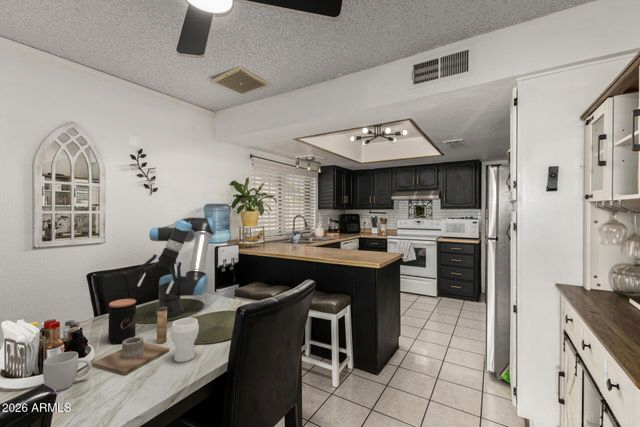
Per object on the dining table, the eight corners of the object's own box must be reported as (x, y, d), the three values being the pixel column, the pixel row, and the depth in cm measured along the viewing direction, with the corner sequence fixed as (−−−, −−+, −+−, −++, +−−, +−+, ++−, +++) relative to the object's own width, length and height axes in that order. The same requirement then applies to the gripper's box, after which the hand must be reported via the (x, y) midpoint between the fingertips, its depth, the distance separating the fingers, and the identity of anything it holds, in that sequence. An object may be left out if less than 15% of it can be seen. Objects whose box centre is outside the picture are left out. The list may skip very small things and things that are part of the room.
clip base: (138, 344, 131) (139, 328, 131) (169, 351, 125) (169, 334, 125) (91, 366, 112) (92, 347, 112) (125, 375, 106) (125, 355, 107)
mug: (39, 398, 93) (40, 367, 93) (45, 384, 100) (46, 355, 100) (90, 385, 100) (90, 356, 100) (91, 373, 108) (92, 346, 108)
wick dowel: (161, 339, 137) (162, 306, 137) (168, 340, 136) (169, 307, 136) (154, 343, 133) (155, 308, 133) (161, 344, 132) (161, 309, 132)
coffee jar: (121, 346, 130) (122, 306, 130) (102, 343, 132) (103, 304, 132) (140, 336, 140) (141, 299, 140) (122, 334, 142) (123, 297, 142)
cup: (171, 354, 123) (172, 319, 123) (198, 349, 128) (198, 316, 128) (169, 366, 114) (170, 328, 114) (198, 361, 118) (199, 324, 118)
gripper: (147, 241, 138) (126, 284, 133) (197, 258, 152) (179, 297, 147) (145, 240, 144) (125, 281, 139) (194, 256, 158) (176, 294, 152)
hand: (153, 289), depth 143 cm, fingers open, 13 cm apart
